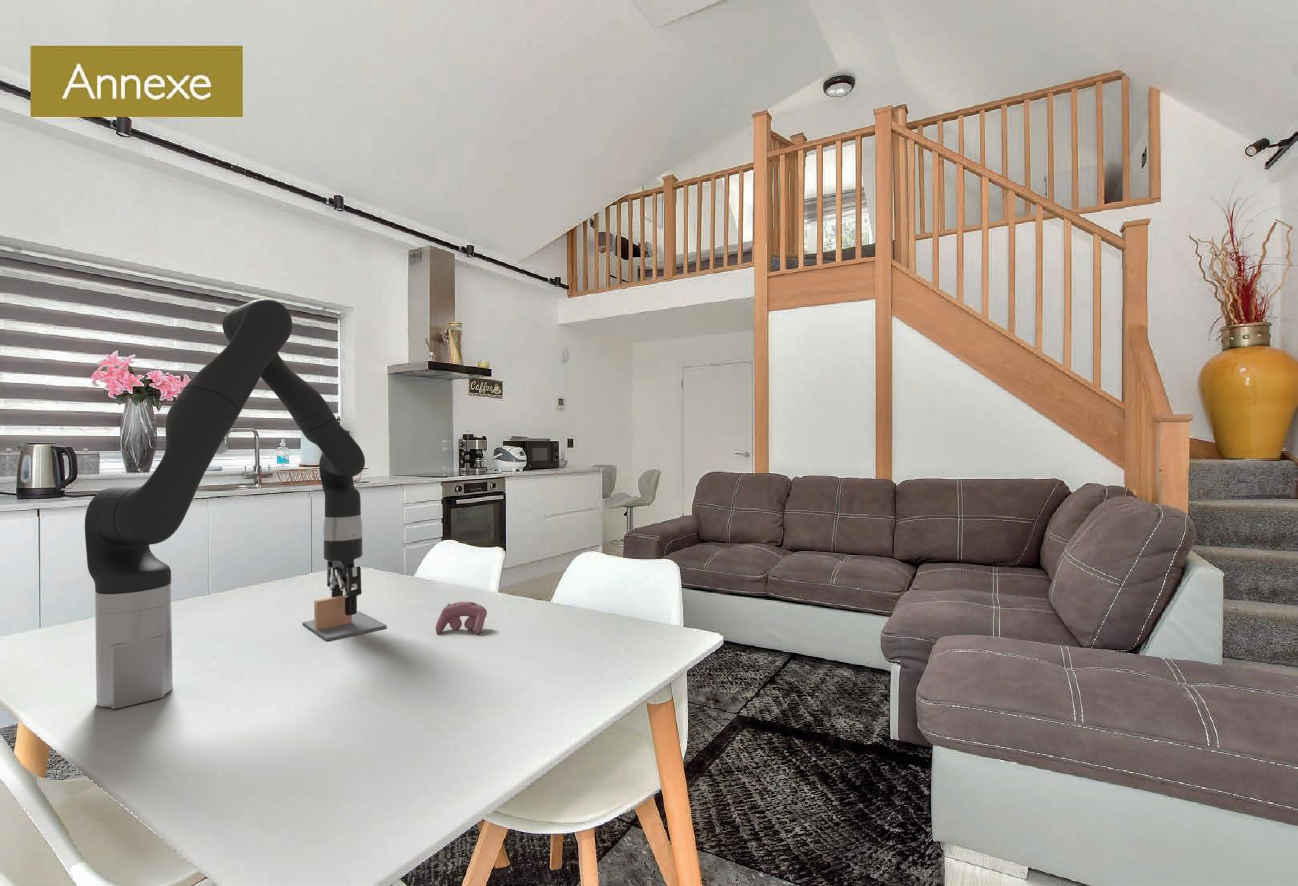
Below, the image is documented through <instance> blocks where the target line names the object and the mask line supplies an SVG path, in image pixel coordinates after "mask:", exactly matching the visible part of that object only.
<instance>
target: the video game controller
mask: <svg viewBox="0 0 1298 886" xmlns="http://www.w3.org/2000/svg"><path fill="white" fill-rule="evenodd" d="M487 614H488V611H487V609H486V608H485V607H484V606H482V605H481V604H479V603H476V602H472V601H457V602H454V603H447V604H446V606H445V607H444V608H443V609H442V611H441V613H440V614H439V617H438V620H437V622H436V623H435V632H436V634H438V635H439V634H441V633H443V631H444V630H445V629H446V627H447V625H448V624H449V626H450V628H451V629H452V630H455V631H457V630H459V629H461V627H462V625H463V624H464V625H463V626H464V628H465V629H466V630H469V631H473V630H474V634H475V635H479V634H480V633H481V632H482V630H483V628H484V625H485V619H486V618H487ZM461 617H468V618H466V619H465V621H464V623H463V622H462V620H461Z"/></svg>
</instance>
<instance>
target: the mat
mask: <svg viewBox="0 0 1298 886" xmlns="http://www.w3.org/2000/svg"><path fill="white" fill-rule="evenodd" d="M302 626H303V627H305V628H306V629H308V630H309V631H311V632H312V633H313V634H315V635H316V636H318V637H320V638H321V639H322V640H324V641H325V642H328V641H332V640H338V639H341V638H348V637H352V636H356V635H361V634H364V633H369V632H374V631H378V630H379V631H380V630H384V629H387V624H385V623H383V622H381V621H379V620H377V619H376V618H373V617H372V616H369V614H365V613H363V612H362V611H358V610H357V613H356V614H354V615H352V623H350V624H345V625H340V626H335V627H330V628H326V629H321V630H316V629H315V626H314V619H313V620H308V621H302Z"/></svg>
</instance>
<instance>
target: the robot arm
mask: <svg viewBox="0 0 1298 886" xmlns="http://www.w3.org/2000/svg"><path fill="white" fill-rule="evenodd" d="M221 323H222V331H223V334H224V336H225V338H226V339H227V341H228V344H227V345H226V347H224V348H223V349H222V351H221V352H220V353H218V354H217V355H216V356H215V357H214V358H213V359H212V360H210V361H209V362H208V363H207V364H206V365H205V366H204V367H202V368H201V369H200V370H199V371H198V372H197V373H196V374H194V376H193V377H192V378H191V379H190V380H189V381H188V382H187V383H186V385H185V386H184V387H183V389H182V390H181V392H180V393H179V395H178V396H177V398H176V399H175V400H174V402H173V403H172V405H171V407H170V408H169V410H168V412H167V415H166V418H165V448H164V449H165V450H164V454H163V456H162V458H161V460H160V461H159V463H158V465H157V466H156V468H155V469H154V471H153V472H152V474H151V475H150V477H148V479H147V480H146V482H145V483H144V484H143V485H137V486H136V485H135V486H134V485H124V486H121V485H120V486H111V487H108V488H104V489H103V490H101V491H99V492H98V493H97V494H95V495H94V496H93V498H91V500H90V502H89V503H88V506H87V508H86V511H85V516H84V538H85V548H86V549H85V551H86V563H87V564H86V565H87V569H88V573H89V575H90V577H91V578H92V580H93V582H94V590H95V591H94V592H95V593H94V597H95V598H94V601H95V602H94V603H95V610H94V611H95V612H94V613H95V614H94V615H95V617H94V619H95V620H94V621H95V622H94V623H95V680H96V682H95V684H96V705H97V706H98V707H102V708H111V710H116V709H121V708H126V707H129V706H133V705H137V704H142V703H145V702H149V701H150V702H151V701H154V700H159V699H162V698H164V697H165V695H166V694H168V693H169V692H170V691H172V690H173V640H172V639H173V636H172V635H173V634H172V633H173V632H172V630H173V628H172V627H173V626H172V625H173V624H172V621H173V620H172V570H171V567H170V566H169V565H168V564H166V563H165V562H163V561H162V560H160V559H159V558H157V557H156V556H155V555H154V554H153V552H152V551H151V549H150V545H156V544H160V543H162V542H165V541H167V540H168V539H170V538H171V537H172V536H173V535H174V534H175V533H176V532H177V530H178V529H179V528H180V526H181V525H182V523H183V521H184V518H185V517H186V515H187V513H188V511H189V509H190V506H191V504H192V502H193V500H194V497H195V494H196V492H197V491H198V488H199V486H200V484H201V481H202V479H203V477H204V474H205V473H206V471H207V469H208V467H209V466H210V464H211V462H212V461H213V459H214V457H215V455H216V454H217V452H218V450H219V448H220V446H221V444H222V443H223V441H224V440H225V438H226V437H227V435H228V433H229V432H230V431H231V429H232V427H233V426H234V424H235V423H236V421H237V419H238V417H239V416H240V413H241V412H242V410H243V408H244V407H245V404H246V403H247V401H248V399H249V397H250V396H251V394H252V393H253V391H254V389H255V387H256V386H257V384H258V382H259V380H260V378H261V379H262V380H263V382H265V384H266V385H267V386H268V388H270V390H271V391H272V392H273V393H274V394H275V395H276V396H277V398H278V399H279V400H280V402H281V403H282V405H284V407H285V408H286V410H287V412H288V413H289V414H290V416H291V417H292V419H293V420H294V422H295V423H296V425H297V427H298V428H299V429H300V431H301V433H302V434H303V435H304V436H305V438H306V439H307V440H308V441H309V442H310V443H312V444H314V445H316V446H317V447H318V448H319V450H320V451H321V452H322V453H321V455H320V456H319V457H320V458H319V463H318V465H319V466H318V467H319V476H320V480H321V481H320V482H321V485H322V490H323V494H324V522H323V559H324V560H325V561H326V562H327V564H326V570H327V571H326V580H327V581H326V586H327V588H328V587H329V591H330V592H331V597H337V596H343V595H344V596H345V615H347V616H349V615H354V614H356V613H357V612H358V596H360V595H362V592H363V591H362V571H361V569H362V568H361V566H359V565H358V566H355V560H356V559H360V558H361V557H362V556H363V523H362V514H361V513H362V511H361V510H362V508H361V507H362V505H361V502H362V501H361V494H360V491H359V490H358V489H357V488H356V487H355V485H354V484H355V483H354V477H355V476H358V475H359V474H361V473H362V472H363V470H364V468H365V466H366V459H365V458H366V457H365V454H364V452H363V450H362V449H361V448H362V447H360V445H359V444H358V443H357V441H356V440H354V438H353V437H352V436H351V435H350V434H349V432H348V431H347V430H346V429H345V428H343V426H342V425H341V424H340V423H339V421H338V419H337V418H336V416H335V414H334V413H333V411H332V409H331V408H330V406H329V404H328V403H327V401H326V400H325V398H324V397H323V396H322V395H321V394H320V393H319V392H318V390H316V389H315V388H314V387H313V386H312V385H310V384H309V383H308V382H307V381H306V380H304V379H303V378H302V377H300V376H299V375H298V374H297V373H296V372H294V371H293V369H292V368H291V367H289V366H288V365H287V364H286V363H285V361H284V360H283V359H282V357H281V356H280V354H279V351H281V349H282V348H283V346H284V345H285V344H286V343H287V342H288V340H289V338H290V336H291V334H292V332H293V320H292V316H291V313H290V311H289V310H288V308H287V307H286V306H285V305H284V304H283V303H281V302H279V301H278V300H275V299H269V298H261V299H255V300H251V301H249V302H247V303H245V304H242V305H240V306H238V307H236V308H233V309H231V310H229V311H228V312H227V313H226V314H225V315H224V316H223V319H222V322H221ZM331 597H330V598H331Z"/></svg>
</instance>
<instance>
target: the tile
mask: <svg viewBox="0 0 1298 886" xmlns="http://www.w3.org/2000/svg"><path fill="white" fill-rule="evenodd" d="M313 604H314V605H313V608H314V609H313V610H314V611H313V613H314V614H313V616H314V617H313V618H314V619H313V620H314V626H315V629H316V630H321V629H326V628H330V627H335V626H340V625H345V624H350V623H352V615H349V616H347V615H345V596H344V594H343V596H337V597H327V598H325V597H324V598H321V599H314V601H313Z"/></svg>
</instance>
